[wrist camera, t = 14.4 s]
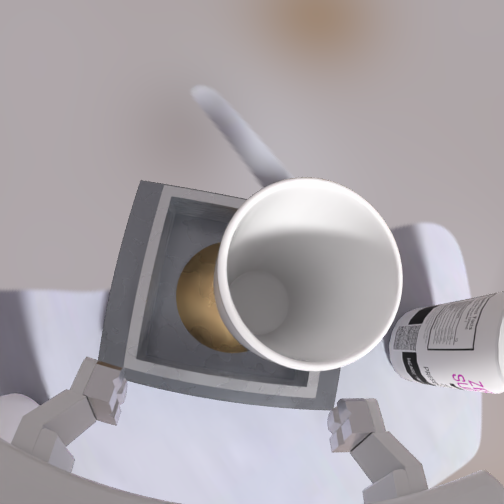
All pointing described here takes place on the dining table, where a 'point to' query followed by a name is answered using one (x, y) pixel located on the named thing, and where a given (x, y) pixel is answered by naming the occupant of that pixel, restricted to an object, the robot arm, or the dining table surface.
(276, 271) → the drinking glass
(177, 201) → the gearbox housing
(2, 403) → the white bottle
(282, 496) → the dining table surface
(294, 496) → the dining table surface
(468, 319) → the supplement can
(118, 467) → the dining table surface
